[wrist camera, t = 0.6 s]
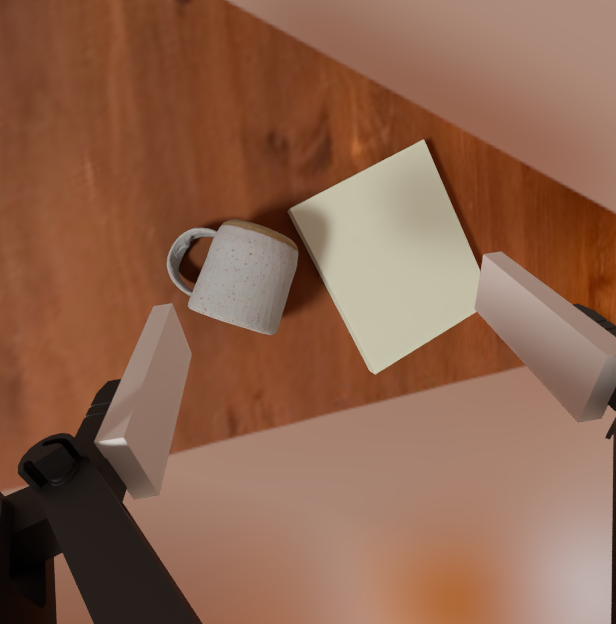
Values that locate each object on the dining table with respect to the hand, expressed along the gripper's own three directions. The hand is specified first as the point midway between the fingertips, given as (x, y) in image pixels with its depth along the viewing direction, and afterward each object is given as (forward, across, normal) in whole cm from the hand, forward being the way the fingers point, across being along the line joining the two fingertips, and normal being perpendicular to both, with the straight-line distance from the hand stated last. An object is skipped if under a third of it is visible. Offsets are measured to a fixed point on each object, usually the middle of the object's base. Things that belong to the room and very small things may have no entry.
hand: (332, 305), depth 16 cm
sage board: (+20, +9, -9) cm, 24 cm away
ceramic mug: (+18, -7, -7) cm, 21 cm away
